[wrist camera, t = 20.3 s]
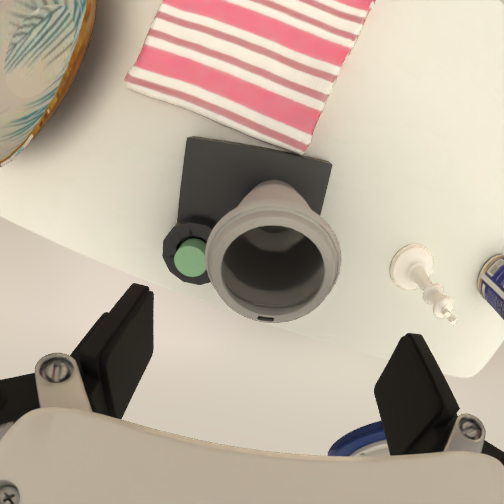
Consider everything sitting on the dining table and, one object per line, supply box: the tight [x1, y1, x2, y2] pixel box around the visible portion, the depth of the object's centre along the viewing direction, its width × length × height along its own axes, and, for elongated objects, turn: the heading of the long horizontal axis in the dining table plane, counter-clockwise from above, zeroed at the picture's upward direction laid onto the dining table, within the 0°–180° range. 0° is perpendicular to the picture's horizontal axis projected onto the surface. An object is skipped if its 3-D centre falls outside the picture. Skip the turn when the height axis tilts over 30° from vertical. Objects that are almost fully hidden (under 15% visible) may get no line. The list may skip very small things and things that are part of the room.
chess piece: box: [390, 244, 457, 325], centre depth 25 cm, size 5×5×10 cm
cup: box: [205, 180, 341, 323], centre depth 21 cm, size 7×7×12 cm
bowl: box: [0, 0, 97, 167], centre depth 18 cm, size 25×25×8 cm
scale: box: [163, 136, 332, 285], centre depth 27 cm, size 12×13×4 cm
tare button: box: [174, 238, 206, 277], centre depth 26 cm, size 3×3×2 cm
